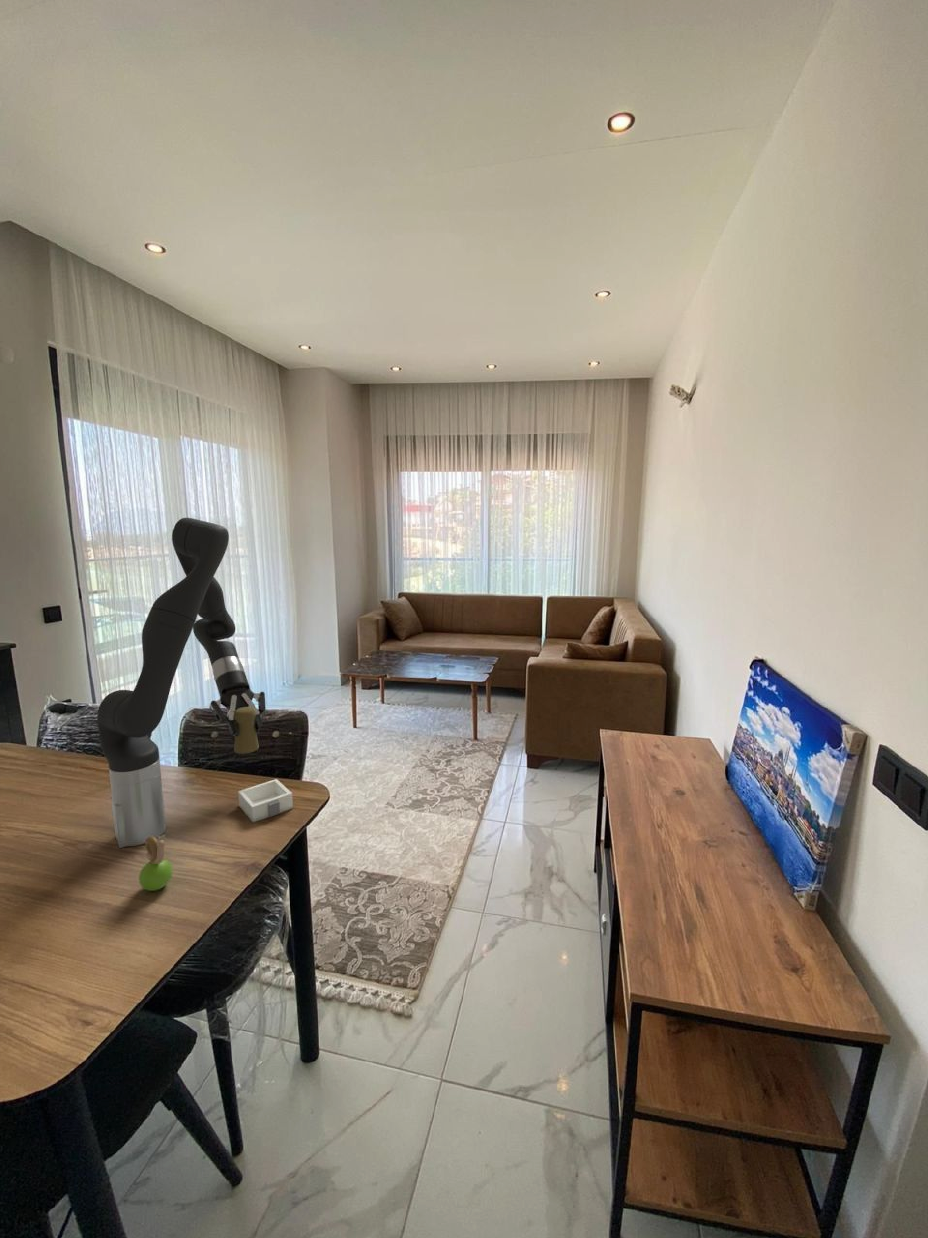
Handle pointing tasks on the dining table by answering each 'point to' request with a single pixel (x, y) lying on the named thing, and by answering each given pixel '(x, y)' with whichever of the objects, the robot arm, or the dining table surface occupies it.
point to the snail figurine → (155, 865)
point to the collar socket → (265, 800)
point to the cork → (245, 731)
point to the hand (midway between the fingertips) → (248, 732)
